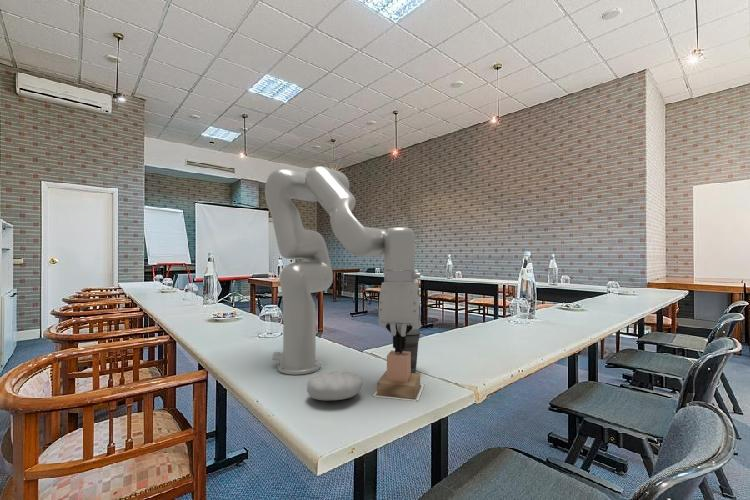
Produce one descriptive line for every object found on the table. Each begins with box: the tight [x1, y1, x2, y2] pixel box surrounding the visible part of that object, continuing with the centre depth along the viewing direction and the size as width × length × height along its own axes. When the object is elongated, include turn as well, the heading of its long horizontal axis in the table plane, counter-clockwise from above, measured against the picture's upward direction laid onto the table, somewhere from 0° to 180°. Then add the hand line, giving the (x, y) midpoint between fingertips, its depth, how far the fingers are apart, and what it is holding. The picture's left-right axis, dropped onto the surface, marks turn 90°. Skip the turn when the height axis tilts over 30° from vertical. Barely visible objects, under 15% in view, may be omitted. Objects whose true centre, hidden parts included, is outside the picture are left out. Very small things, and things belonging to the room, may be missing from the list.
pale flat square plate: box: [371, 383, 425, 403], centre depth 88 cm, size 11×11×1 cm
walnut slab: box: [376, 370, 421, 399], centre depth 88 cm, size 9×9×3 cm
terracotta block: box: [386, 349, 411, 382], centre depth 88 cm, size 5×5×6 cm
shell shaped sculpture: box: [306, 371, 363, 401], centre depth 83 cm, size 13×13×6 cm
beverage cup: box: [397, 324, 421, 373], centre depth 102 cm, size 7×7×20 cm
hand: (399, 351), depth 88 cm, fingers closed
